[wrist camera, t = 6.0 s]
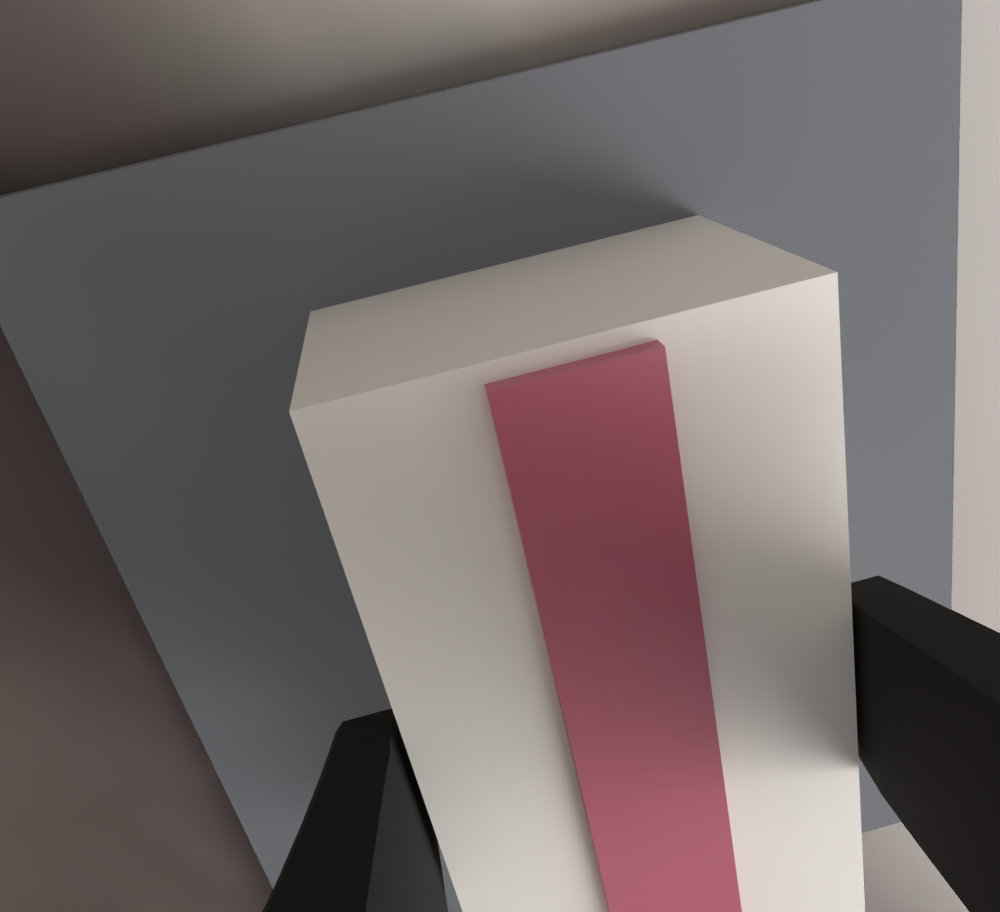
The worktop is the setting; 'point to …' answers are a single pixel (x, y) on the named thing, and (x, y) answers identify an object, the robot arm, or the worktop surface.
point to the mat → (448, 252)
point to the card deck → (607, 567)
